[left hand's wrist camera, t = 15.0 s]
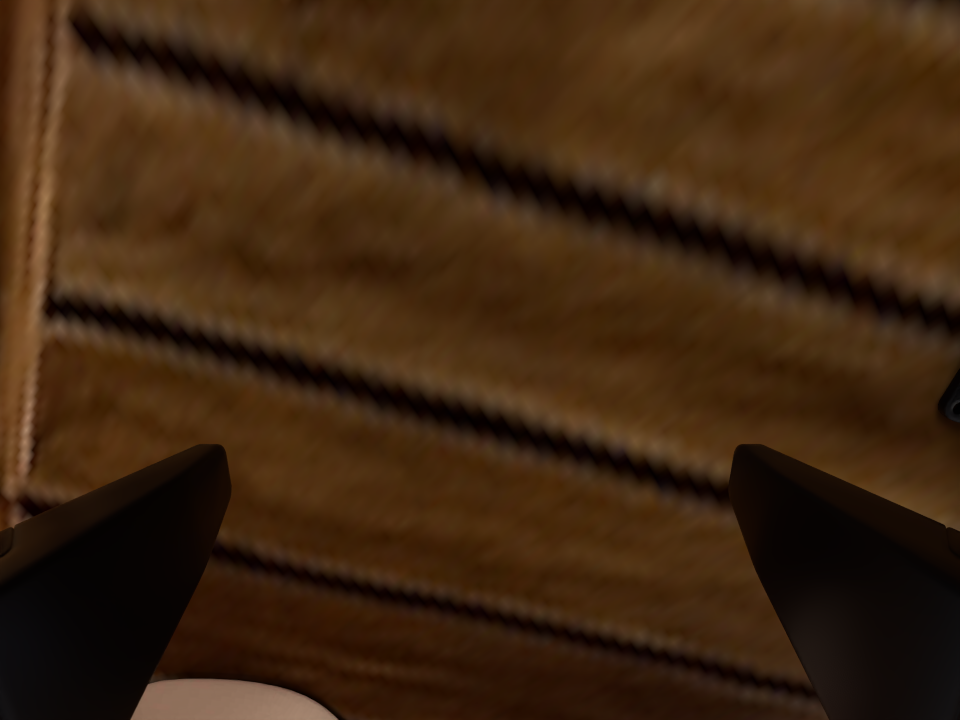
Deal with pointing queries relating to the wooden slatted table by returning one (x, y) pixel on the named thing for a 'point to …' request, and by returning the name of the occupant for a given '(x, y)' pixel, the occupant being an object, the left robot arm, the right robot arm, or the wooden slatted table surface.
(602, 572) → the wooden slatted table surface
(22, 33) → the wooden slatted table surface
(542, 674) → the wooden slatted table surface
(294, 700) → the anatomical model
